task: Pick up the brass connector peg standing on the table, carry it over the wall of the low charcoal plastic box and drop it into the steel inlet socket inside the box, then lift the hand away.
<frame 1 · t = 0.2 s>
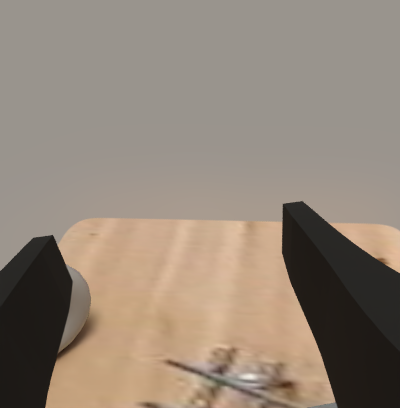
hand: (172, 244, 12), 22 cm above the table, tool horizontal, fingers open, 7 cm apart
donut: (56, 350, 36), on the table
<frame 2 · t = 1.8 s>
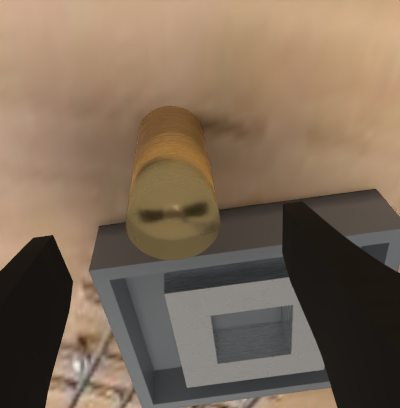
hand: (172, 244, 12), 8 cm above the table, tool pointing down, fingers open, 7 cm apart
connector: (171, 138, 19), on the table
box: (243, 291, 25), on the table
inlet: (249, 318, 23), in the box, point 2 cm above the table
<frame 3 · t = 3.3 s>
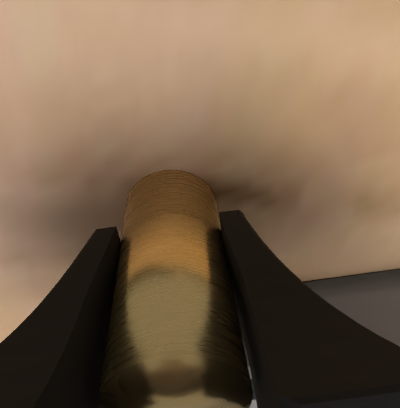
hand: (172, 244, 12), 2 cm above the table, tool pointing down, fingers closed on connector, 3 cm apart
connector: (171, 209, 14), on the table, touching gripper
box: (261, 376, 20), on the table
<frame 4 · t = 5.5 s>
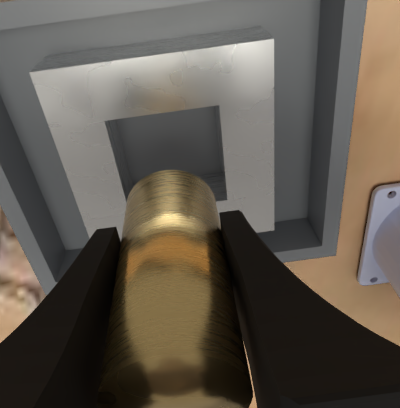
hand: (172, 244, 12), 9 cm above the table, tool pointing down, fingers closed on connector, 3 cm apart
connector: (171, 209, 14), point 7 cm above the table, touching gripper
box: (169, 130, 19), on the table
inlet: (170, 150, 18), in the box, point 2 cm above the table
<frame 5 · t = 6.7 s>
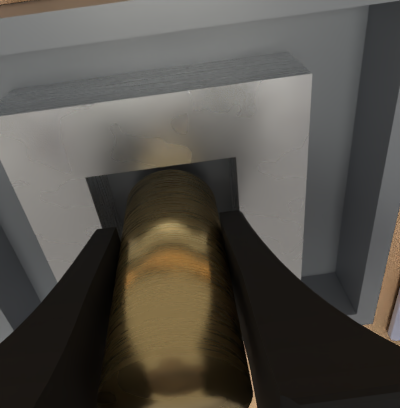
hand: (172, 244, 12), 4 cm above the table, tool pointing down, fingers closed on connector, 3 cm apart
connector: (171, 208, 14), point 2 cm above the table, touching gripper
box: (170, 174, 16), on the table
inlet: (171, 205, 14), in the box, point 2 cm above the table
when the fingers open (4 cm above the table, at t = 7.5 s): connector drops 1 cm, resting on box.
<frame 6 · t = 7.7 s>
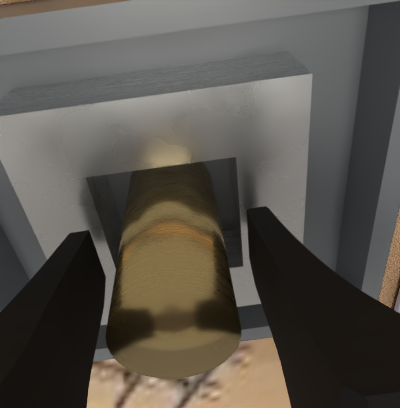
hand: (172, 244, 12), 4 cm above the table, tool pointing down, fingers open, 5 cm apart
connector: (171, 187, 15), point 1 cm above the table, touching box
box: (171, 174, 16), on the table
inlet: (171, 205, 14), in the box, point 2 cm above the table
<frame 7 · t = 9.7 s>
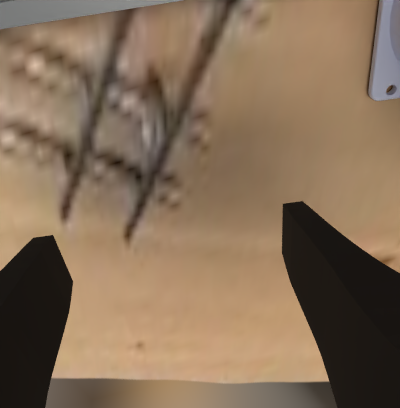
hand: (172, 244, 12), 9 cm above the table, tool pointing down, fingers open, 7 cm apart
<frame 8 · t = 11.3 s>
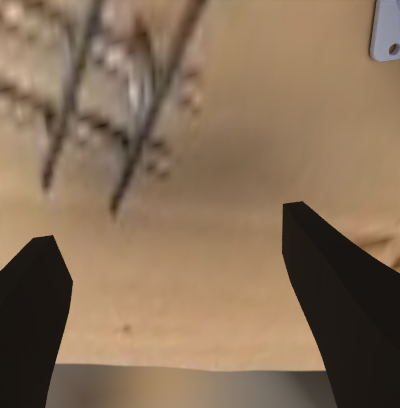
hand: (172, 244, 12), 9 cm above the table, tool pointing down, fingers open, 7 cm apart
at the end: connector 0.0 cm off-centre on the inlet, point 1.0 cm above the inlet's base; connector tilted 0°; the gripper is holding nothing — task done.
